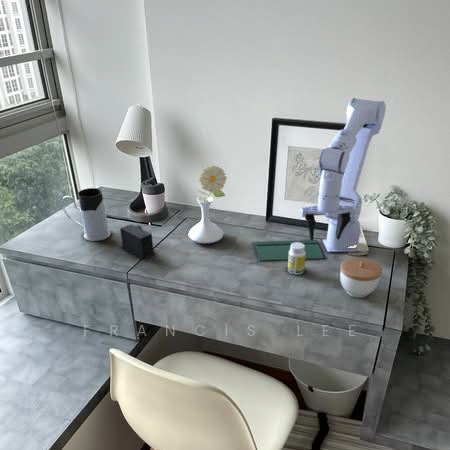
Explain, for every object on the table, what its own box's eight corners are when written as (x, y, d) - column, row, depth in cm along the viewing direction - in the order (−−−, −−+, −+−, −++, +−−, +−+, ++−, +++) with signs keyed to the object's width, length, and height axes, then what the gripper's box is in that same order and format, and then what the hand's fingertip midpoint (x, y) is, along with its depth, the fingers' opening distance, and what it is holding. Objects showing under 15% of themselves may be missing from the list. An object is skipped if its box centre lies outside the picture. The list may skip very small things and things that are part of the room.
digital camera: (157, 252, 152) (155, 232, 148) (143, 258, 149) (141, 238, 145) (136, 242, 158) (133, 222, 154) (122, 247, 155) (120, 228, 151)
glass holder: (107, 240, 159) (100, 197, 150) (64, 240, 159) (54, 197, 151) (112, 229, 166) (106, 187, 158) (71, 229, 166) (63, 187, 158)
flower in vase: (183, 243, 157) (178, 168, 143) (197, 228, 166) (194, 156, 152) (220, 250, 153) (219, 173, 139) (233, 235, 162) (233, 161, 147)
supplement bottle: (305, 268, 143) (307, 242, 139) (302, 276, 140) (304, 250, 135) (289, 265, 145) (291, 240, 140) (285, 273, 141) (287, 248, 136)
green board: (316, 241, 157) (316, 239, 157) (324, 258, 148) (324, 256, 148) (255, 243, 157) (255, 241, 156) (259, 261, 147) (259, 259, 147)
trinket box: (332, 281, 137) (336, 252, 132) (369, 279, 138) (375, 250, 132) (343, 303, 128) (348, 273, 123) (383, 301, 129) (389, 271, 124)
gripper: (306, 199, 128) (301, 245, 135) (360, 198, 128) (353, 243, 136) (301, 189, 133) (297, 234, 141) (353, 188, 134) (346, 232, 142)
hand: (324, 238), depth 139 cm, fingers open, 7 cm apart
